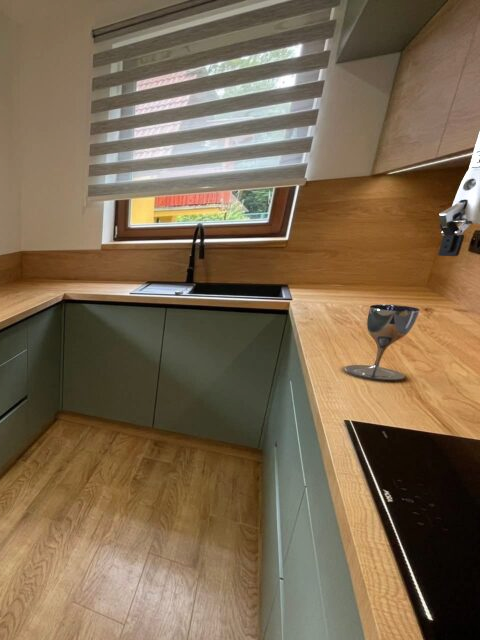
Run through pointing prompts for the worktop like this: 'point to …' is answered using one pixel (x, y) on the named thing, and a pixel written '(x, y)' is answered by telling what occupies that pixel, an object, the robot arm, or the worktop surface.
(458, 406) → the worktop surface
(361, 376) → the coaster
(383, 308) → the wine glass
